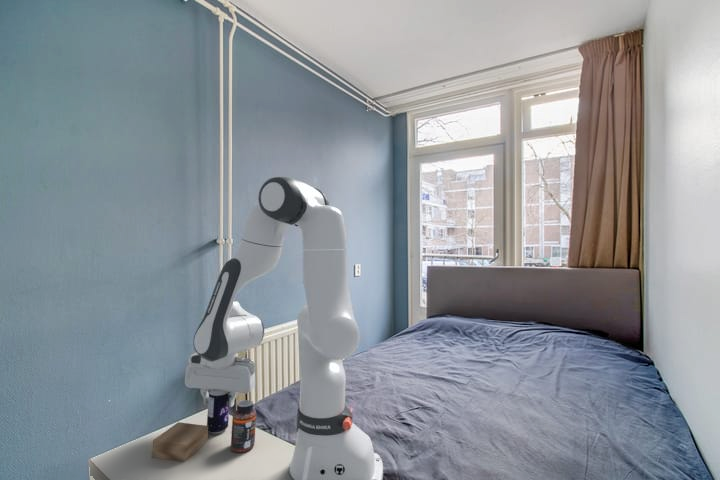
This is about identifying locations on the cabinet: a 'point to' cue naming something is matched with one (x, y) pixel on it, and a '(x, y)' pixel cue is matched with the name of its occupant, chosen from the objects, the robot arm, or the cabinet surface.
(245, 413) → the supplement bottle
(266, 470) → the cabinet surface
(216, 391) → the beverage can
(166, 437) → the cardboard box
